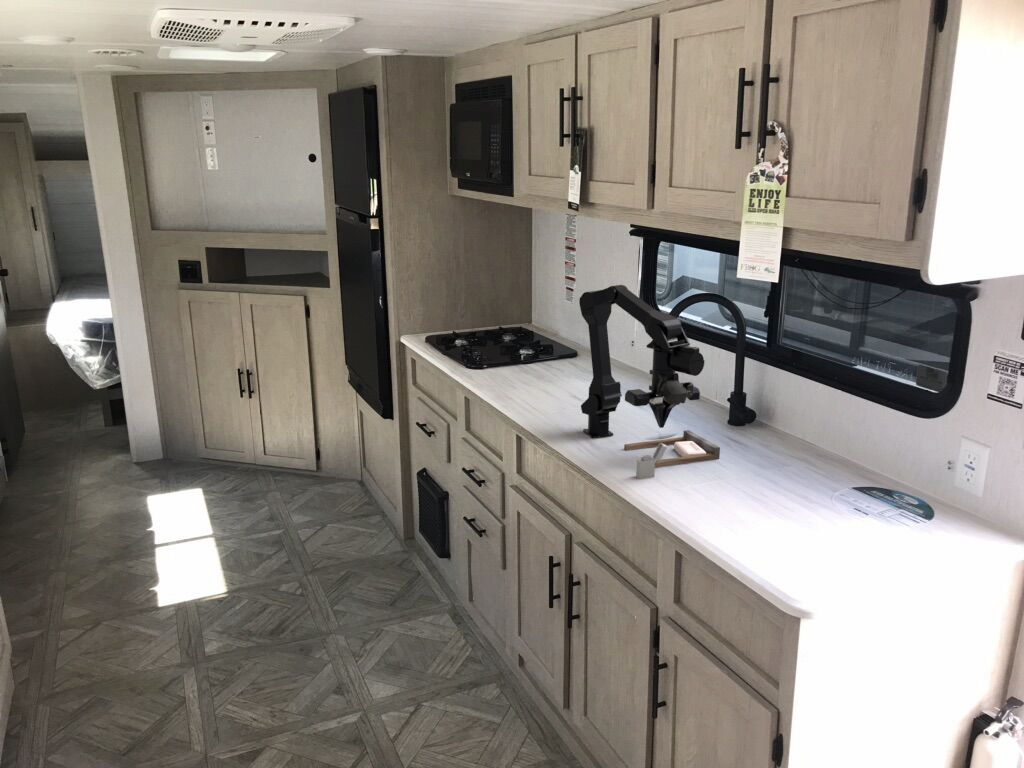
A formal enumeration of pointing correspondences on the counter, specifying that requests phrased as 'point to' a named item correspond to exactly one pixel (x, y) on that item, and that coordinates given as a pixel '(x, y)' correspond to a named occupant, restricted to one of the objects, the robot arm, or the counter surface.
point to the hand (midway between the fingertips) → (661, 427)
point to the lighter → (649, 462)
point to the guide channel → (707, 446)
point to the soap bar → (688, 448)
